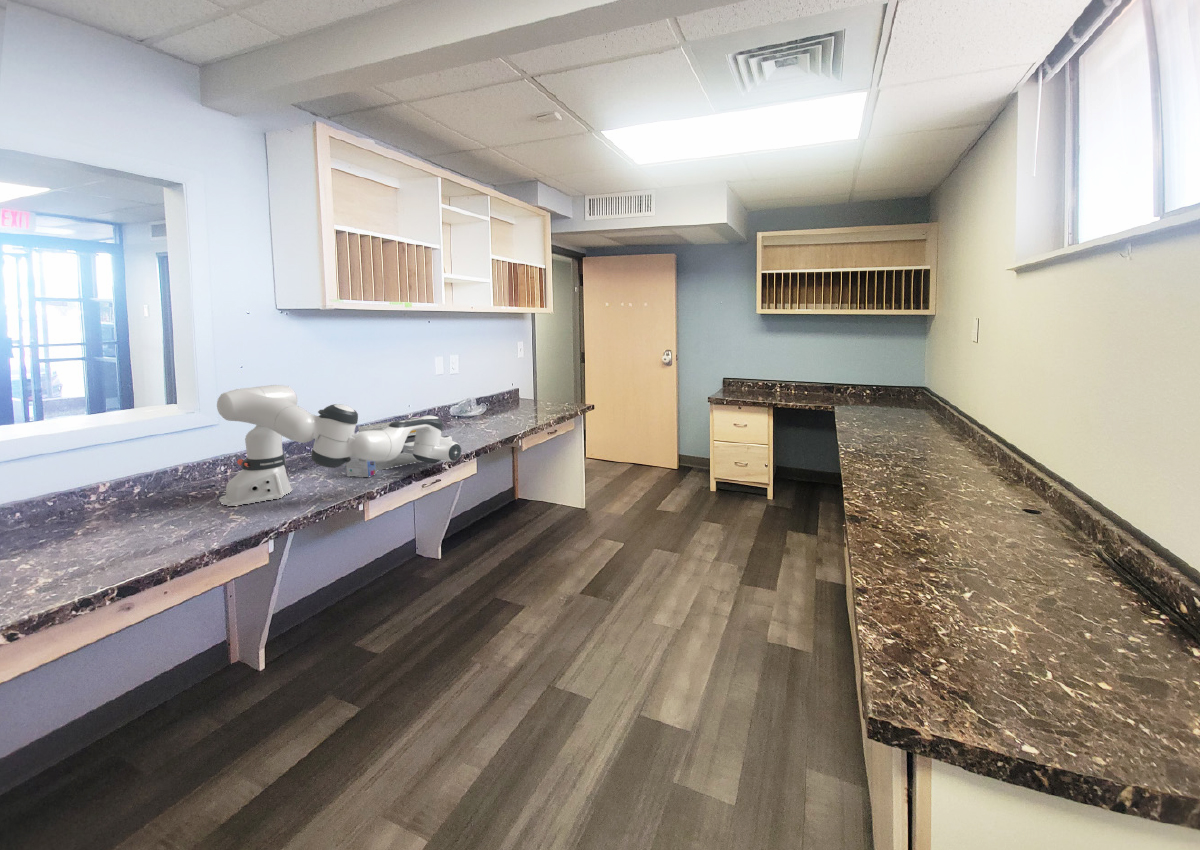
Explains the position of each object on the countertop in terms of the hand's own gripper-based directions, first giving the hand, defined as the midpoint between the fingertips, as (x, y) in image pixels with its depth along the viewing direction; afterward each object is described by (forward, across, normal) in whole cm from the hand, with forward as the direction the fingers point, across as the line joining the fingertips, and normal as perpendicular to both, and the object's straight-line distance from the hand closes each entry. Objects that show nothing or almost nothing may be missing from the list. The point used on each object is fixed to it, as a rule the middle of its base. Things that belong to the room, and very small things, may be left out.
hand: (417, 442), depth 247 cm
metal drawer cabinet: (+4, -6, -9) cm, 12 cm away
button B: (+2, 0, -2) cm, 4 cm away
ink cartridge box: (-2, -26, -9) cm, 28 cm away
